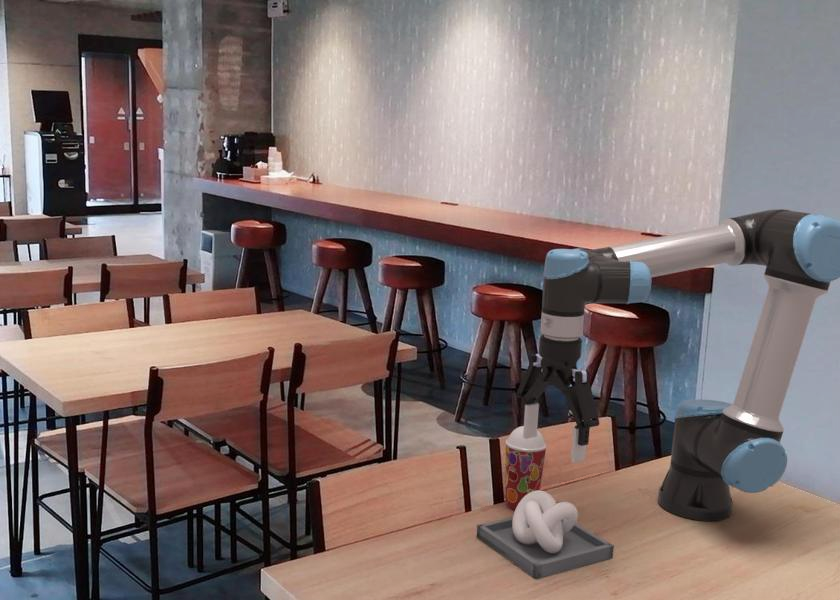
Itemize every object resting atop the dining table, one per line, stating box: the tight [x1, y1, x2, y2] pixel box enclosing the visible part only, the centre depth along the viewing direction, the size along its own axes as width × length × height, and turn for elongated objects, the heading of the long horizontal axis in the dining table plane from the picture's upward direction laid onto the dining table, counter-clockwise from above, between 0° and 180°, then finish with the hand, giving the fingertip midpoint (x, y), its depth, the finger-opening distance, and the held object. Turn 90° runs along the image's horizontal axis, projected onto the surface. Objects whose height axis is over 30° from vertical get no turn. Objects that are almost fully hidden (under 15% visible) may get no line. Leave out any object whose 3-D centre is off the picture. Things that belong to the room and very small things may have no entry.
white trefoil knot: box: [512, 489, 579, 554], centre depth 168 cm, size 11×12×9 cm
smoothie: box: [504, 425, 548, 510], centre depth 186 cm, size 8×8×20 cm
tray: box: [476, 509, 615, 580], centre depth 169 cm, size 18×18×2 cm
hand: (553, 449), depth 166 cm, fingers open, 13 cm apart
